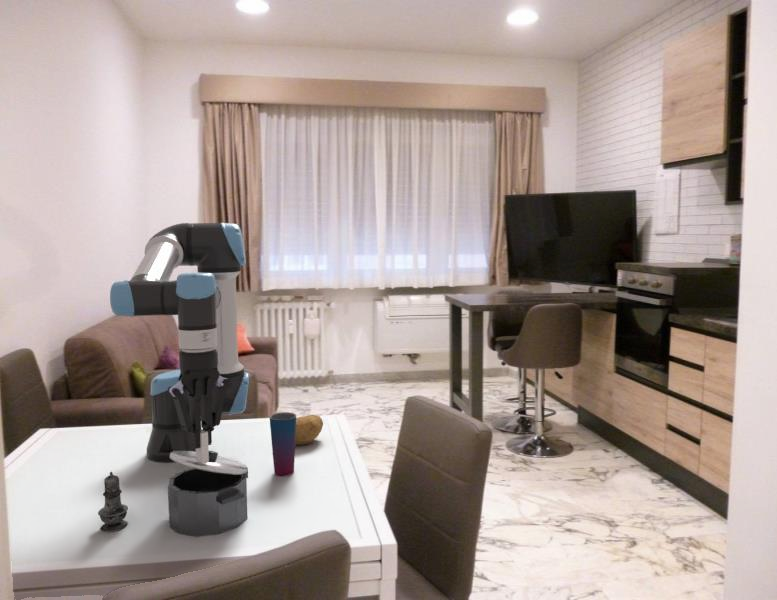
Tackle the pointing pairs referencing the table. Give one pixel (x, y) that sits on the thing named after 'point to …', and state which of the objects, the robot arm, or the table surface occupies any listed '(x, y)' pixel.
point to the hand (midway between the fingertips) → (202, 461)
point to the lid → (214, 465)
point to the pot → (206, 502)
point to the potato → (307, 428)
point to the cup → (283, 442)
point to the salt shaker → (113, 506)
